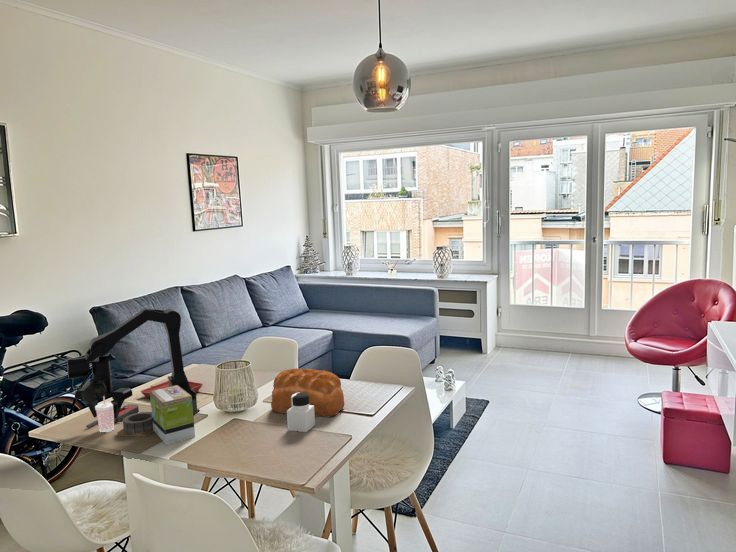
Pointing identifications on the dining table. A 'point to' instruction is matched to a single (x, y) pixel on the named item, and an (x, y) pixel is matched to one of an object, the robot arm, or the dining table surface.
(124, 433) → the cup holder
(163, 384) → the plant saucer
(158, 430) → the tea box
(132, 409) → the walkie-talkie
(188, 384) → the robot arm
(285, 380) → the bread
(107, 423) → the beverage cup
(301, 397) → the medicine bottle
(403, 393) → the dining table surface
